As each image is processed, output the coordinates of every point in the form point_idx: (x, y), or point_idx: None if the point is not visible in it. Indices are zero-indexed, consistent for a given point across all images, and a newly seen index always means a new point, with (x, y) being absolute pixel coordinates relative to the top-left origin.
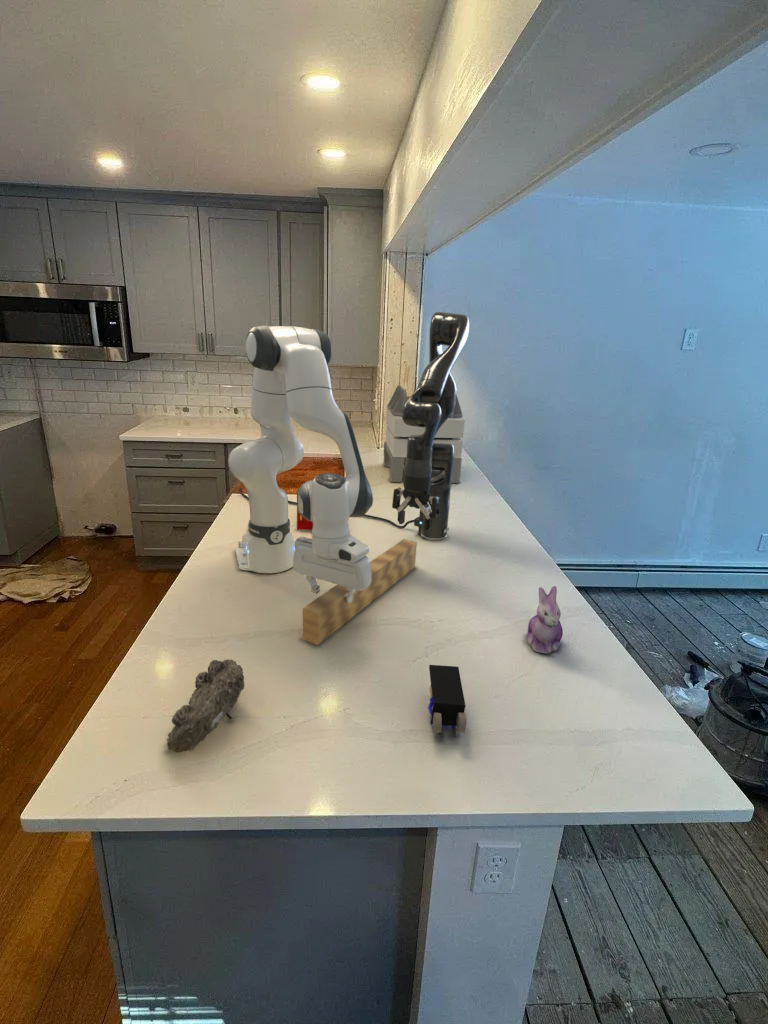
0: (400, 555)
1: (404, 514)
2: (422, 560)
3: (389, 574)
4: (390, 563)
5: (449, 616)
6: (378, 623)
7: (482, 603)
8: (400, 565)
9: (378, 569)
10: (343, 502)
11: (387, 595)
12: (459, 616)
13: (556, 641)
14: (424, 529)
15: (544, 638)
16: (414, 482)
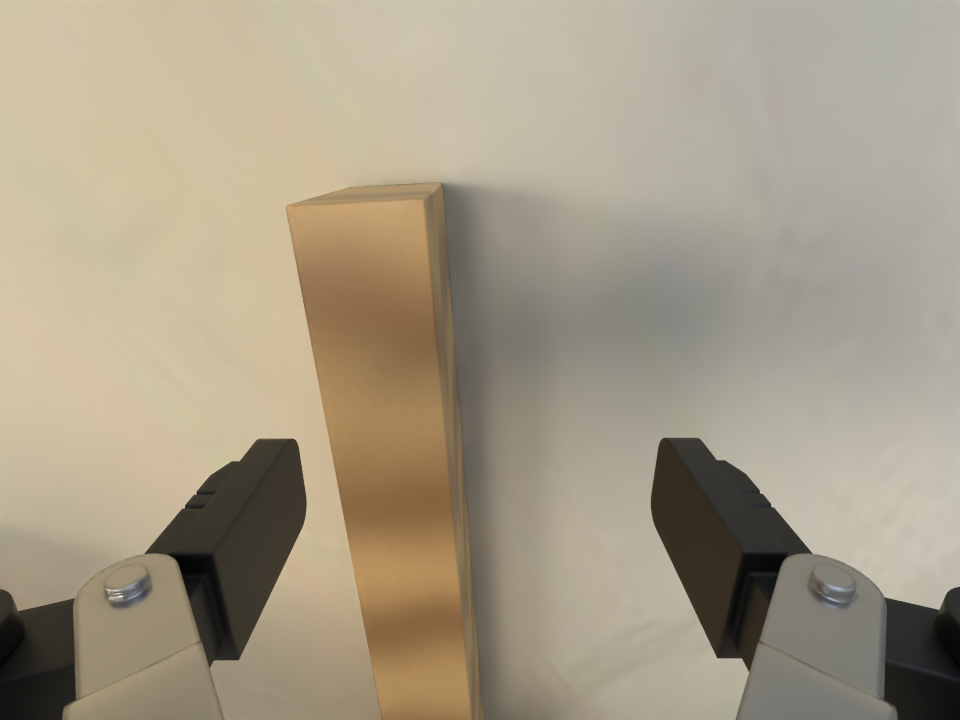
0: (451, 472)
1: (247, 526)
2: (422, 30)
3: (463, 535)
4: (460, 581)
5: (807, 531)
6: (578, 688)
7: (940, 352)
8: (453, 422)
9: (468, 701)
10: None
11: (496, 533)
12: (848, 510)
13: None
14: (655, 525)
15: None
16: None
